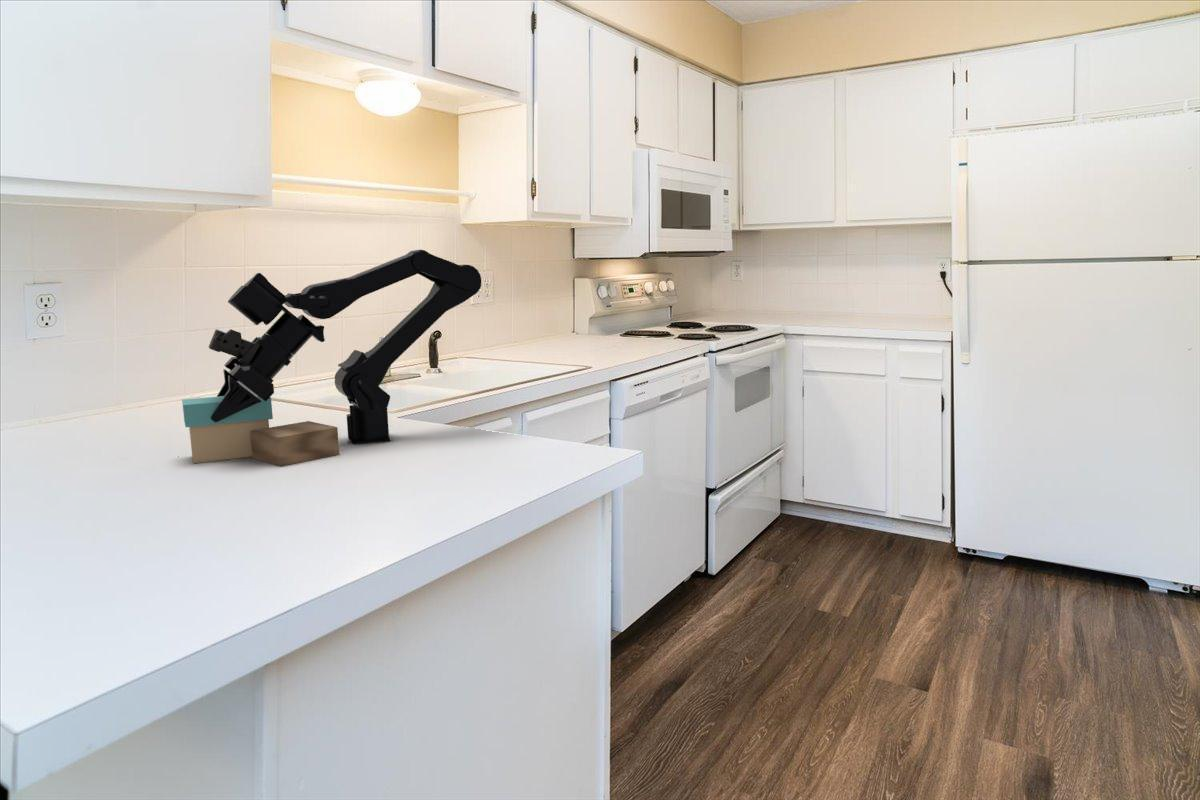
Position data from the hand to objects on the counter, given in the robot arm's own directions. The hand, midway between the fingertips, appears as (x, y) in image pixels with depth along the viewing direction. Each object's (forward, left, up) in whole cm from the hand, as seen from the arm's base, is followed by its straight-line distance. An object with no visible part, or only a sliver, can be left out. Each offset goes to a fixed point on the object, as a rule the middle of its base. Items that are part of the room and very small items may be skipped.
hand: (211, 417), depth 126 cm
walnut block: (-12, +5, -7) cm, 15 cm away
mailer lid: (-2, 0, -1) cm, 3 cm away
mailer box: (-2, 0, -7) cm, 7 cm away
